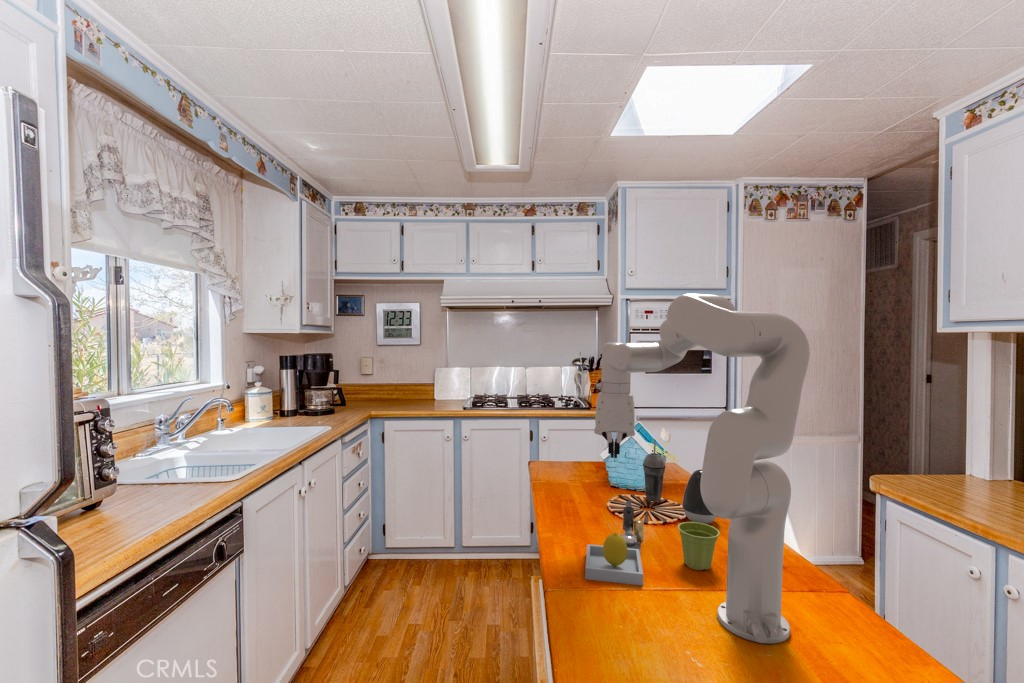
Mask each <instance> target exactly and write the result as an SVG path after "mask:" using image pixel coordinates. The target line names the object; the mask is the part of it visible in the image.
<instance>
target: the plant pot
mask: <svg viewBox="0 0 1024 683" xmlns="http://www.w3.org/2000/svg"><path fill="white" fill-rule="evenodd" d="M677 530H678V531H679V535H680V538H681V546H682V556H683V557H682V558H683V563H684V565H686V566H687V567H688V568H690V569H693V570H695V571H696V570H697V571H703V570H706V571H708V570H710V569H711V568H712V563H713V557H714V551H715V548H716V543H717V540H718V538H719V536H720V534H721V533H720V530H719V529H718V528H716V527H714V526H712V525H710V524H703V523H698V522H693V521H686V522H681V523H679V524H678V525H677Z"/></svg>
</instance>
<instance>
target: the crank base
mask: <svg viewBox="0 0 1024 683" xmlns="http://www.w3.org/2000/svg"><path fill="white" fill-rule="evenodd" d="M633 534H634V535H636V536H637V543H636V544H635V545H627V548H633V549H639V551H640V554H641V551H642V550H641V549H642V548H641V547H642V543H641V542H643V541H644V520H642V519H639V518H637V519H634V529H633ZM639 541H640V542H639Z"/></svg>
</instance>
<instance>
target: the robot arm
mask: <svg viewBox="0 0 1024 683" xmlns="http://www.w3.org/2000/svg"><path fill="white" fill-rule="evenodd" d="M659 338H660V339H659V340H658V341H656V342H605V343H604V344H603V345H602V348H601V349H602V351H601V382H599V383H595V389H598V390H600V392H598V393H597V394H598V395H597V399H596V404H595V419H594V422H595V424H594V425H595V427H594V430H593V433H594V434H595V435H598V436H602V437H603V438H604V439H605V440H606V441H607V443H608V445H607V446H608V447H607V448H608V449H607V450H608V451H607V453H608V455H610V458H611V459H612V458H615V459H617V458H618V455H621V454H620V453H621V443H622V441H624V440H625V439H626V438H630V437H635V435H636V432H635V416H636V415H635V402H634V395H633V394H632V393H631V392H630V391H631V373H655V372H661V371H663V370H666V369H667V368H670V367H672V366H674V365H676V364H678V363H679V362H682V360H683V359H684V357H685V356H686V355H687V352H688V351H689V350H692V349H694V348H696V347H698V346H700V347H702V348H704V349H706V350H708V351H710V352H713V353H714V354H717V355H719V356H722V357H730V358H739V357H740V358H742V357H743V358H744V357H745V358H747V357H750V358H751V357H753V358H754V357H760V358H761V361H760V364H759V365H758V367H757V368H756V370H755V371H754V372H753V375H752V377H751V378H750V379H751V380H750V383H749V389H748V393H747V394H748V395H747V399H746V402H745V404H744V406H743V407H741V408H740V407H739V408H731V409H728V410H724V411H722V412H721V413H718V415H717V416H716V417H715V418H714V419H713V421H712V422H711V425H710V426H709V429H708V433H707V438H706V444H705V450H704V457H703V461H702V462H703V463H702V468H701V470H702V474H701V482H700V489H701V496H702V499H703V502H704V504H705V506H706V507H707V509H708V510H709V511H710V512H711V513H712V514H714V515H715V516H717V517H716V518H720V519H723V520H730V521H729V525H728V536H727V538H728V539H727V560H726V561H727V567H726V592H725V594H726V595H725V598H726V599H725V601H724V602H722V603H720V604H719V606H718V607H717V613H716V614H717V615H716V616H717V619H718V621H719V622H720V624H721V625H722V626H723V627H724V628H725V629H727V630H728V631H729V632H731V633H732V634H734V635H736V636H738V637H740V638H742V639H745V640H748V641H751V642H755V643H759V644H767V645H768V644H777V643H778V644H779V643H781V642H785V641H787V639H789V637H790V636H791V626H790V623H789V622H788V620H787V619H786V618H785V617H784V616H783V615H782V597H783V596H782V595H783V567H784V566H783V565H784V563H783V562H784V549H785V546H784V545H785V544H784V543H785V529H786V521H787V516H788V512H789V507H790V505H791V497H792V485H791V482H790V478H789V477H788V475H787V473H786V472H785V470H784V469H783V468H782V467H781V466H779V465H778V464H777V463H774V462H773V461H771V460H770V461H769V460H768V459H772V458H777V457H780V456H782V455H784V454H786V453H788V451H789V450H790V448H791V446H792V444H793V439H794V435H795V429H796V425H797V420H798V414H799V408H800V403H801V395H802V390H803V386H804V382H805V378H806V374H807V371H808V367H809V362H810V353H811V352H810V350H811V349H810V344H809V340H808V337H807V335H806V334H805V332H804V330H803V329H802V328H801V327H800V326H799V324H798V323H797V322H795V321H794V320H792V319H791V318H789V317H787V316H786V315H782V314H778V313H773V312H768V311H743V310H742V311H741V310H739V311H738V310H736V308H735V306H734V304H733V303H732V302H731V301H730V300H729V299H728V298H726V297H724V296H721V295H717V294H706V293H705V294H704V293H684V294H681V295H679V296H677V297H676V298H675V299H673V301H671V303H670V304H669V306H668V308H667V312H666V319H665V320H663V322H662V323H661V325H660V326H659ZM612 433H616V437H615V439H613V434H612ZM614 440H615V441H614ZM766 459H767V460H766Z"/></svg>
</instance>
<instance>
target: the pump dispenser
mask: <svg viewBox="0 0 1024 683" xmlns="http://www.w3.org/2000/svg"><path fill="white" fill-rule="evenodd" d="M701 474H702V469H697V470H695V471H693V472H692V474H691V475H690V476H689V479H688V481H687V484H686V486H685V488H684V493H683V496H682V509H683V512H684V514H685V516H686V518H688V520H690V522H698V523H703V524H707V525H709V524H711V523H713V522H714V521H715V520H716V519H717V518H718V517H717V516H715V515H714V514H712V513H711V512H710V511H709V510H708V509H707V507H706V506H705V504H704V502H703V499H702V496H701V489H700V482H701Z"/></svg>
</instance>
